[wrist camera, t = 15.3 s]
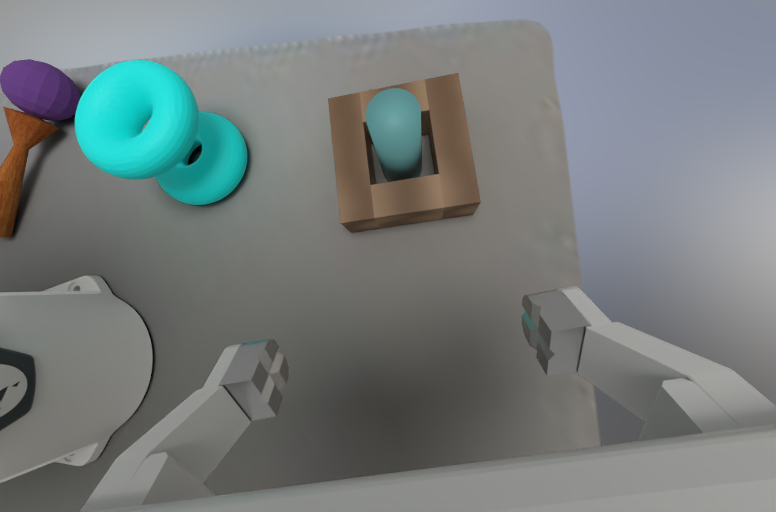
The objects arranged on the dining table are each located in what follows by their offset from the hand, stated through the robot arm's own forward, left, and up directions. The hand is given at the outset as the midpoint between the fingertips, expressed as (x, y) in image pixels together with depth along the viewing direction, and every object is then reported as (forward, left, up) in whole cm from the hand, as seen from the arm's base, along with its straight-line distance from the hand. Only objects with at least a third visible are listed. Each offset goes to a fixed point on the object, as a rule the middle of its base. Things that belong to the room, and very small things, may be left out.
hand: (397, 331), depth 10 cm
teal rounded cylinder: (+1, +14, -19) cm, 24 cm away
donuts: (-20, +18, -19) cm, 33 cm away
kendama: (-42, +23, -19) cm, 51 cm away
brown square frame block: (+1, +14, -19) cm, 24 cm away
